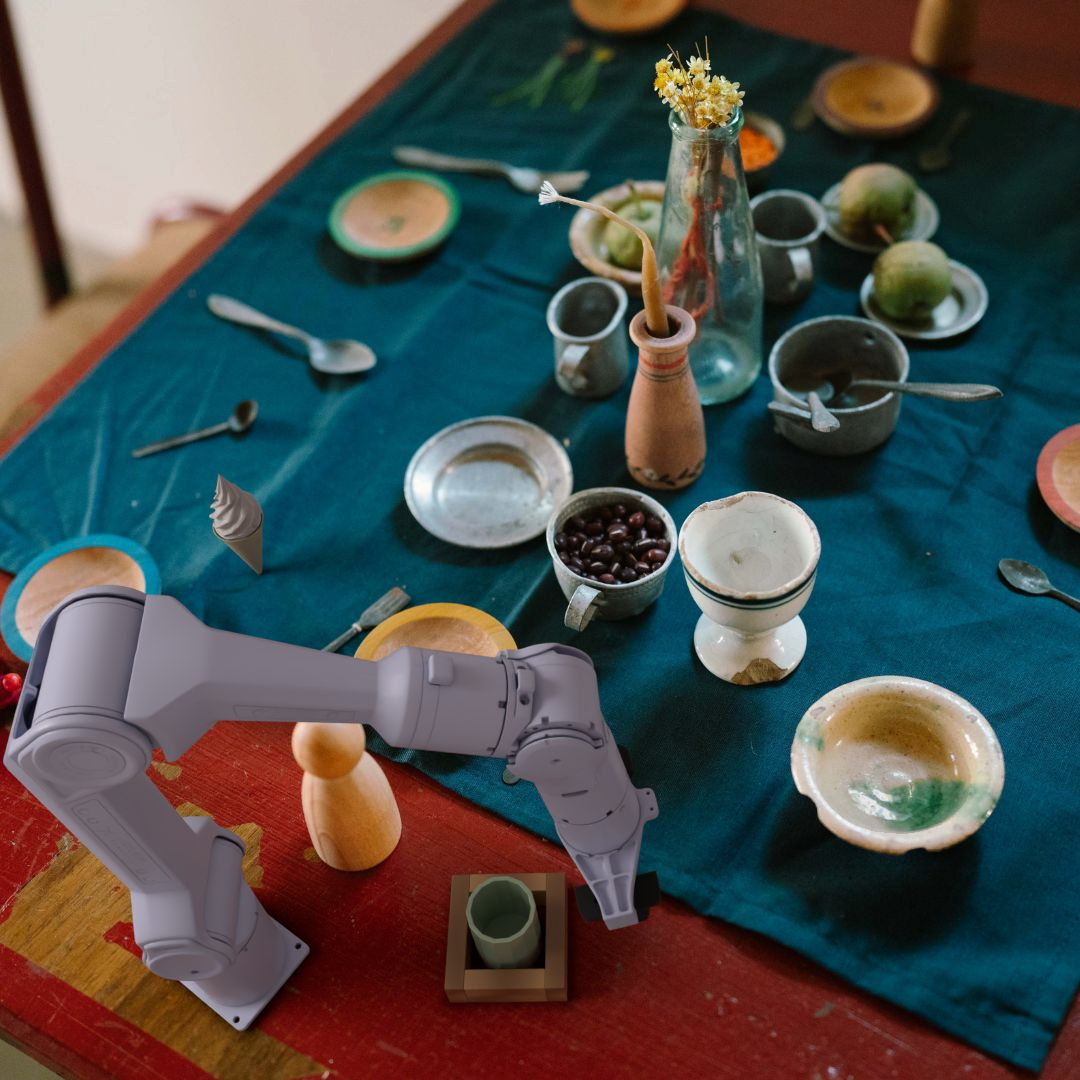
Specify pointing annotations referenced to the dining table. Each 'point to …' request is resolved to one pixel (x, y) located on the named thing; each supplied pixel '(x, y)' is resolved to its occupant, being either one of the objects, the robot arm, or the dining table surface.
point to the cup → (505, 924)
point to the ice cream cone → (238, 522)
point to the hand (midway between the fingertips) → (623, 868)
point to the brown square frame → (508, 981)
